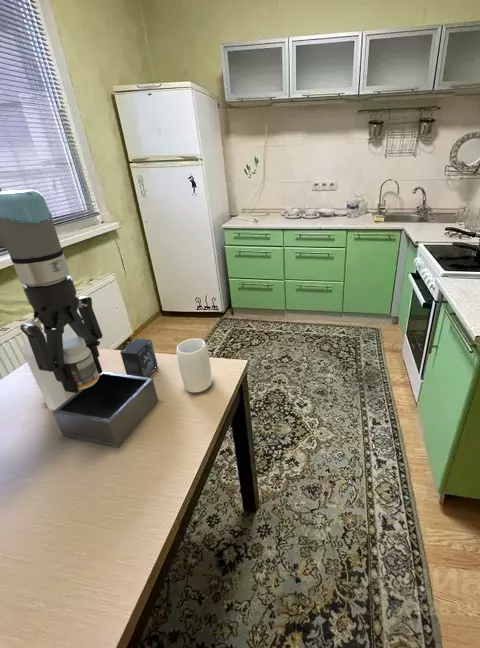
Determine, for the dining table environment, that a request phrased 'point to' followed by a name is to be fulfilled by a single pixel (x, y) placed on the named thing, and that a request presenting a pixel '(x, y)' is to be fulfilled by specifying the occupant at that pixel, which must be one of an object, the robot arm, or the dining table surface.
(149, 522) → the dining table surface
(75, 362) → the pill bottle
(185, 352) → the cup
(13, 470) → the dining table surface
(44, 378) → the container
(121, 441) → the bin
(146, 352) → the box
